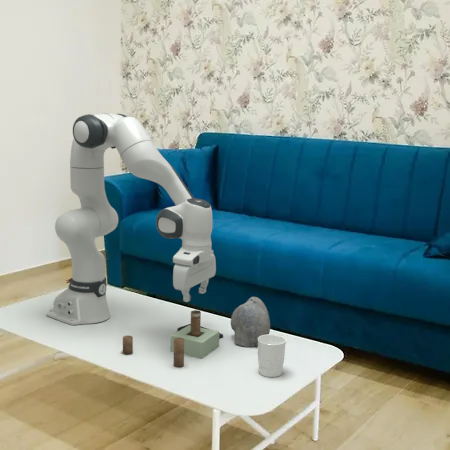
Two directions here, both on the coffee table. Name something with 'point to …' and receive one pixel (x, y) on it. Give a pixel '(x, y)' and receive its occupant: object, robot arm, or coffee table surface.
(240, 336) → the decorative stone
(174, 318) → the coffee table surface
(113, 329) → the coffee table surface
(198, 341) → the socket block
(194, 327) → the pin long
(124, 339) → the pin short
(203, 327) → the phone
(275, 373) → the white cup
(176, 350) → the pin medium
